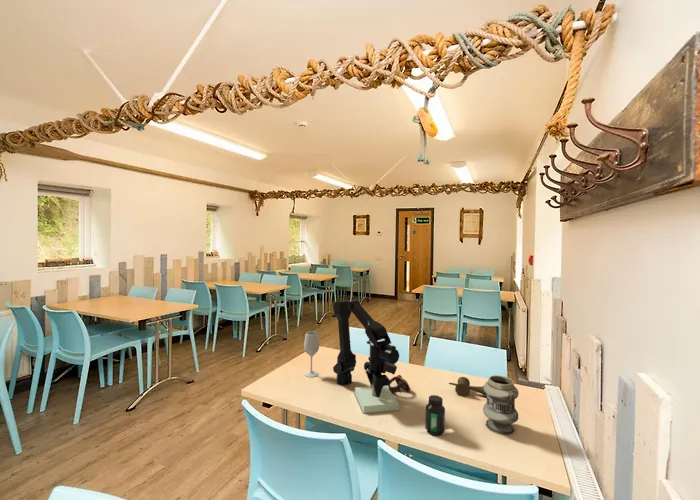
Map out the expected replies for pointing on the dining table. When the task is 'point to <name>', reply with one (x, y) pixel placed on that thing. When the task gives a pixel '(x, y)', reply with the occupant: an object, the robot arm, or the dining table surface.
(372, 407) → the lid
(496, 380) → the apothecary jar
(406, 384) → the pottery mug
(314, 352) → the wineglass
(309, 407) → the dining table surface
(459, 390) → the kendama
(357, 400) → the mat
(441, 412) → the supplement bottle
